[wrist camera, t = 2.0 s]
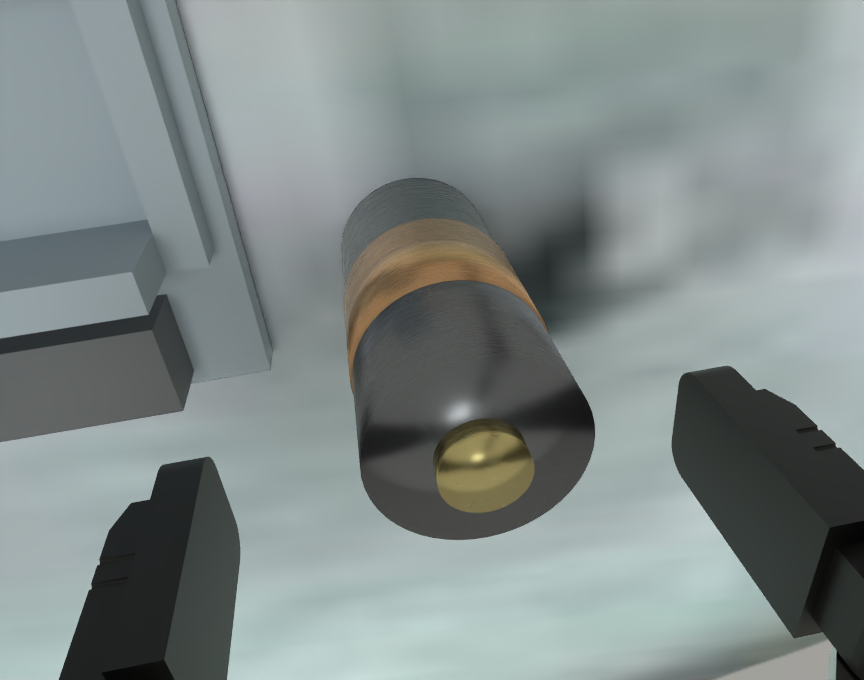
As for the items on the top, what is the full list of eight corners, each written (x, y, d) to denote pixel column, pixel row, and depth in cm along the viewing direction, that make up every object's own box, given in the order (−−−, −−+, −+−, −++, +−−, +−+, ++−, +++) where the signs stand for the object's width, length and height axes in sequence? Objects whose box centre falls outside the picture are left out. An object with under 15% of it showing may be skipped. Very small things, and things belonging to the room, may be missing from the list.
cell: (482, 165, 17) (614, 350, 10) (490, 301, 20) (603, 539, 12) (327, 188, 17) (337, 398, 9) (353, 323, 19) (379, 583, 12)
